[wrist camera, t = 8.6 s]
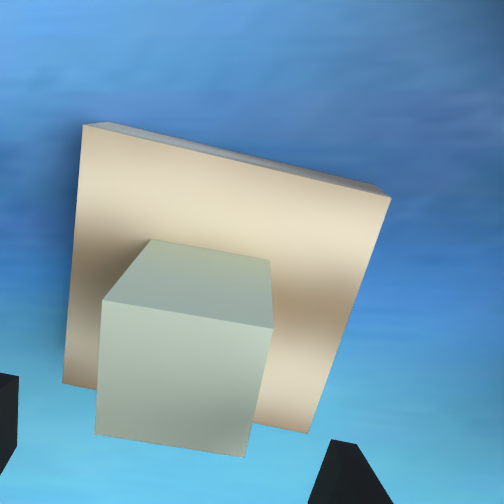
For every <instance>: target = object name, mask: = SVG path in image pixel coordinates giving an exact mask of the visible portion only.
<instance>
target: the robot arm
mask: <svg viewBox="0 0 504 504" xmlns="http://www.w3.org/2000/svg"><path fill="white" fill-rule="evenodd" d="M18 391H19V376H14V375H9V374H4V373H0V475H1V473H2V471H3V470H4V468H5V466H6V464H7V463H8V461H9V459H10V457H11V456H12V454H13V452H14V450H15V449H16V447H17V425H18ZM308 504H393V502H392V500H391V499H390V497H389V496H388V494H387V492H386V491H385V489H384V488H383V486H382V484H381V483H380V481H379V480H378V478H377V476H376V475H375V473H374V471H373V470H372V468H371V467H370V465H369V463H368V462H367V460H366V458H365V457H364V455H363V454H362V452H361V450H360V449H359V447H358V446H357V444H353V443H348V442H343V441H338V440H333V439H331V441H330V444H329V446H328V449H327V452H326V454H325V457H324V460H323V462H322V465H321V468H320V471H319V473H318V476H317V479H316V481H315V484H314V487H313V489H312V492H311V495H310V497H309V500H308Z"/></svg>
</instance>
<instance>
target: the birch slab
mask: <svg viewBox="0 0 504 504" xmlns="http://www.w3.org/2000/svg"><path fill="white" fill-rule="evenodd" d="M390 201H391V197H390V196H388V195H387V194H386V193H384V192H383V191H382V190H380V189H379V188H378V187H376V186H375V185H373V184H368V183H364V182H360V181H356V180H352V179H348V178H343V177H339V176H335V175H331V174H327V173H322V172H318V171H314V170H310V169H306V168H302V167H297V166H293V165H289V164H285V163H281V162H276V161H272V160H268V159H264V158H260V157H255V156H251V155H247V154H243V153H239V152H235V151H230V150H226V149H222V148H218V147H214V146H209V145H205V144H201V143H197V142H193V141H189V140H184V139H180V138H176V137H172V136H168V135H163V134H159V133H155V132H151V131H147V130H142V129H138V128H134V127H130V126H126V125H122V124H117V123H113V122H101V123H92V124H83V132H82V145H81V157H80V169H79V181H78V194H77V206H76V218H75V231H74V243H73V255H72V268H71V280H70V292H69V305H68V317H67V329H66V342H65V354H64V366H63V378H62V383H64V384H69V385H74V386H78V387H83V388H88V389H93V390H97V381H98V364H99V347H100V330H101V312H102V300H103V298H104V297H105V296H106V295H107V293H108V292H109V291H110V290H111V289H112V287H113V286H114V285H115V284H116V282H117V281H118V280H119V279H120V277H121V276H122V275H123V274H124V273H125V271H126V270H127V269H128V268H129V266H130V265H131V264H132V263H133V262H134V260H135V259H136V258H137V257H138V255H139V254H140V253H141V252H142V250H143V249H144V248H145V247H146V246H147V244H148V243H149V242H150V241H151V239H153V240H159V241H165V242H170V243H176V244H182V245H187V246H193V247H199V248H204V249H210V250H216V251H221V252H227V253H233V254H238V255H244V256H250V257H255V258H261V259H267V260H270V270H271V290H272V310H273V333H272V338H271V342H270V347H269V351H268V355H267V360H266V364H265V369H264V373H263V377H262V382H261V386H260V391H259V395H258V399H257V404H256V408H255V413H254V417H253V421H252V423H257V424H262V425H267V426H272V427H277V428H281V429H286V430H291V431H296V432H301V433H306V434H308V431H309V428H310V425H311V422H312V420H313V417H314V414H315V411H316V408H317V406H318V403H319V400H320V397H321V394H322V392H323V389H324V386H325V383H326V380H327V378H328V375H329V372H330V369H331V366H332V364H333V361H334V358H335V355H336V352H337V349H338V347H339V344H340V341H341V338H342V335H343V333H344V330H345V327H346V324H347V321H348V319H349V316H350V313H351V310H352V307H353V305H354V302H355V299H356V296H357V293H358V291H359V288H360V285H361V282H362V279H363V277H364V274H365V271H366V268H367V265H368V262H369V260H370V257H371V254H372V251H373V248H374V246H375V243H376V240H377V237H378V234H379V232H380V229H381V226H382V223H383V220H384V218H385V215H386V212H387V209H388V206H389V204H390Z"/></svg>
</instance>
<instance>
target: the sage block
mask: <svg viewBox="0 0 504 504" xmlns="http://www.w3.org/2000/svg"><path fill="white" fill-rule="evenodd" d="M272 333H273V310H272V290H271V270H270V260H267V259H261V258H255V257H250V256H244V255H238V254H233V253H227V252H221V251H216V250H210V249H204V248H199V247H193V246H187V245H182V244H176V243H170V242H165V241H159V240H153V239H151V241H150V242H149V243H148V244H147V246H146V247H145V248H144V249H143V250H142V252H141V253H140V254H139V255H138V257H137V258H136V259H135V260H134V262H133V263H132V264H131V265H130V266H129V268H128V269H127V270H126V271H125V273H124V274H123V275H122V276H121V277H120V279H119V280H118V281H117V282H116V284H115V285H114V286H113V287H112V289H111V290H110V291H109V292H108V293H107V295H106V296H105V297H104V298H103V300H102V312H101V330H100V347H99V364H98V381H97V398H96V416H95V433H94V434H96V435H103V436H109V437H115V438H122V439H128V440H134V441H141V442H147V443H154V444H160V445H166V446H173V447H179V448H185V449H192V450H198V451H205V452H211V453H217V454H224V455H230V456H237V457H243V458H244V456H245V452H246V448H247V443H248V439H249V434H250V430H251V426H252V421H253V417H254V413H255V408H256V404H257V399H258V395H259V391H260V386H261V382H262V377H263V373H264V369H265V364H266V360H267V355H268V351H269V347H270V342H271V338H272Z"/></svg>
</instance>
